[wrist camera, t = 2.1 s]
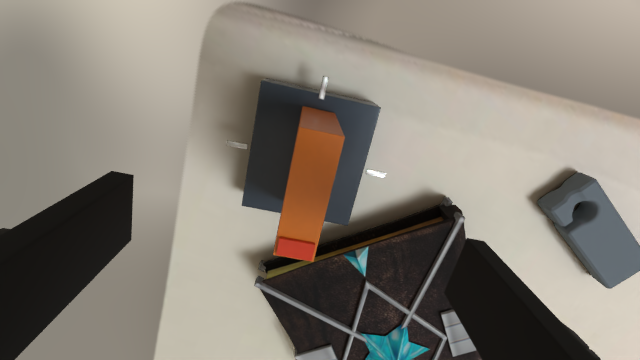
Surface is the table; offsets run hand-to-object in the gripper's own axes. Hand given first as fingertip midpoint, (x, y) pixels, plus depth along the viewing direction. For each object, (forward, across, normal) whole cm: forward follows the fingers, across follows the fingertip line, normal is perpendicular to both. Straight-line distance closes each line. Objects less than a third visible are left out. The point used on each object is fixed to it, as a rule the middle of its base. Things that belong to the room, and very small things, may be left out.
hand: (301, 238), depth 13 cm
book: (+13, +11, -15) cm, 23 cm away
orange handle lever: (+11, 0, 0) cm, 11 cm away
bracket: (+13, +25, -2) cm, 28 cm away
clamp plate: (+13, 0, 0) cm, 13 cm away
